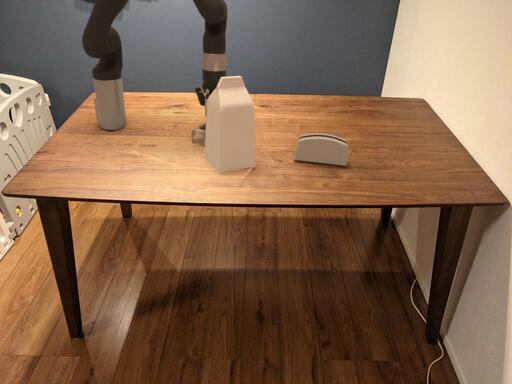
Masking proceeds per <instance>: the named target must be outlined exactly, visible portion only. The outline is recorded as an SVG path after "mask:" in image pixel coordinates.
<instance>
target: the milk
mask: <svg viewBox="0 0 512 384" xmlns="http://www.w3.org/2000/svg"><path fill="white" fill-rule="evenodd" d="M255 109H256V108H255V104H254V102H253V99H252V97H251V96H250V94H249V91H248V90H247V88H246V85H245V83H244V79H243V76H241V75H234V76H233V75H232V76H226V77H221V78H220V80H219V83H218V85H217V88H216V89H215V90H214V91H213V92H212V94H211V95H210V96H209V97H208V100H207V111H206V116H205V118H206V119H205V122H206V135H205V146H204V159H205V160H206V161H207V162H208V163H209V164H210V165H211V167H212V168H214V169H215V170H216V172H217V173H218V174H221V173H226V172H231V171H232V172H233V171H236V170H243V169H244V170H245V169H249V168H255V167H256V110H255Z"/></svg>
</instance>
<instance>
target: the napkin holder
mask: <svg viewBox="0 0 512 384" xmlns="http://www.w3.org/2000/svg"><path fill="white" fill-rule="evenodd" d="M348 153H349V143H348V141H347V140H346V139H345V138H342V137H339V136H337V135H333V134H329V133H319V132H318V133H317V132H316V133H305V134H302V135H300V137H299V138H298V140H297V145H296V148H295V151H294V157H293V159H294V161H300V162H301V161H302V162H309V163H310V162H311V163H318V164H319V163H320V164H327V165H335V166H344V167H347V166H348V159H349V157H348V155H349V154H348Z"/></svg>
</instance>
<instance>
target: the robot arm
mask: <svg viewBox="0 0 512 384" xmlns="http://www.w3.org/2000/svg"><path fill="white" fill-rule="evenodd" d="M129 1H130V0H94V3H93V7H92V9H91V12H90V14H89V15H90V16H89V17H88V20H87V23H86V25H85V28H84V30H83V33H82V36H81V45H82V49H83V51H84V53H85V54H86V55H87V57H89V58H92V59H98V61H97V64H96V65H95V66H94V67H93V68H92V71H91V72H92V81H93V88H94V95H95V96H94V97H95V98H94V99H93V102H94V109H95V110H94V111H95V115H96V116H95V117H96V122H97V126H99V127H100V129H102V130H105V131H106V130H108V131H109V130H110V131H111V130H113V131H115V130H120V129H123V128H126V127H127V124H128V123H127V114H126V105H125V97H124V95H125V94H124V86H123V79H122V71H123V66H124V65H123V63H124V62H123V61H124V60H123V45H122V39H121V37H120V35H119V32H118V31H117V30H116V29H115V28H114V27H112V25H113V23H114V21H115V20H116V18H117V16H119V14H120V13H121V12H122V11H123V10H124V8H126V5H127V4H128V3H129ZM192 2H193V3H194V5H195V7H196V9H197V12H198V13H199V15H201V17H202V18H203V20H204V32H203V36H202V58H201V60H202V61H201V63H202V65H201V66H202V67H201V69H202V71H201V72H202V73H201V75H202V79H201V80H202V85H201V86H198V87H195V89H194V91H195V94H196V96H197V97H196V98H197V100H198V103H199V105H200V106H203V107H204V109H205V110H204V111H205V112H204V113H205V117H206V111H207V100H208V99H206V94H212V92H213V91H214V90H215V89H216V88H217V85H218V83H219V80H220V78H221V77H227V54H226V50H227V45H226V44H227V42H226V41H227V39H226V38H227V37H226V36H227V35H226V32H227V25H228V24H227V23H228V5H227V4H226V1H225V0H192Z"/></svg>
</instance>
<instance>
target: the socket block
mask: <svg viewBox="0 0 512 384" xmlns="http://www.w3.org/2000/svg"><path fill="white" fill-rule="evenodd" d="M205 135H206V121H205V122H203V123H201V124H199V125H197V126H195V127H194V128H191V143H192V144H195V145H199V146H203V147H205Z"/></svg>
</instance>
